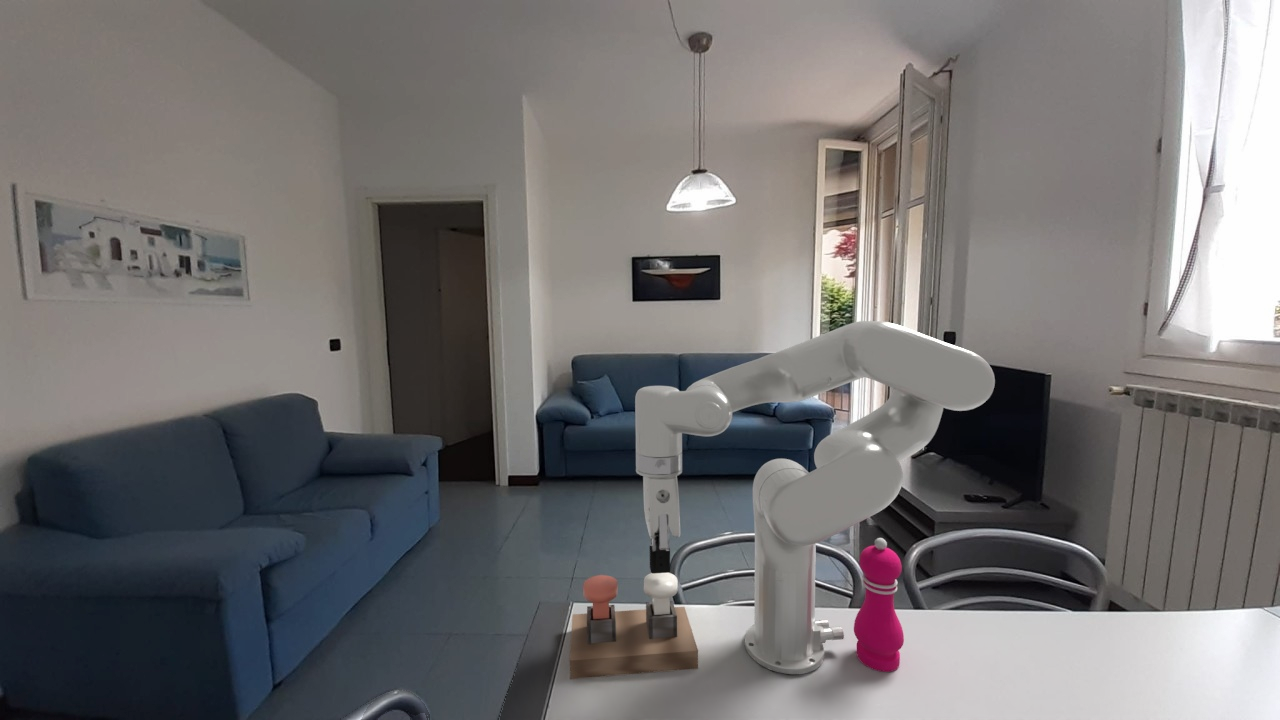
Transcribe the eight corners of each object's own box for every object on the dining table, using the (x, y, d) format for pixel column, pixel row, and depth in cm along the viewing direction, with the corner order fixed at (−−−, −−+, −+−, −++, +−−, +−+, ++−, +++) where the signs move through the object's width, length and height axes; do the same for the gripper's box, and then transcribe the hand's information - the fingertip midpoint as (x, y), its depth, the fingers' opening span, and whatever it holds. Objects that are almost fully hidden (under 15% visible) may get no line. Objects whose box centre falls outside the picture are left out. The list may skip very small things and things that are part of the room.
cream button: (674, 599, 87) (674, 570, 86) (680, 618, 81) (680, 588, 81) (642, 601, 86) (642, 572, 86) (646, 621, 81) (645, 590, 80)
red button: (617, 603, 86) (616, 574, 86) (618, 623, 80) (618, 592, 80) (584, 605, 85) (583, 576, 85) (583, 625, 80) (582, 594, 79)
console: (684, 622, 91) (684, 588, 90) (698, 668, 79) (697, 629, 78) (573, 630, 89) (572, 595, 88) (569, 679, 77) (568, 638, 77)
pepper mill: (909, 677, 76) (913, 550, 75) (858, 671, 78) (861, 547, 76) (895, 646, 83) (898, 530, 82) (849, 641, 85) (851, 527, 83)
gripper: (690, 476, 75) (690, 594, 76) (674, 449, 89) (675, 548, 91) (640, 478, 74) (641, 597, 76) (632, 450, 89) (633, 550, 90)
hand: (659, 570), depth 83 cm, fingers closed
